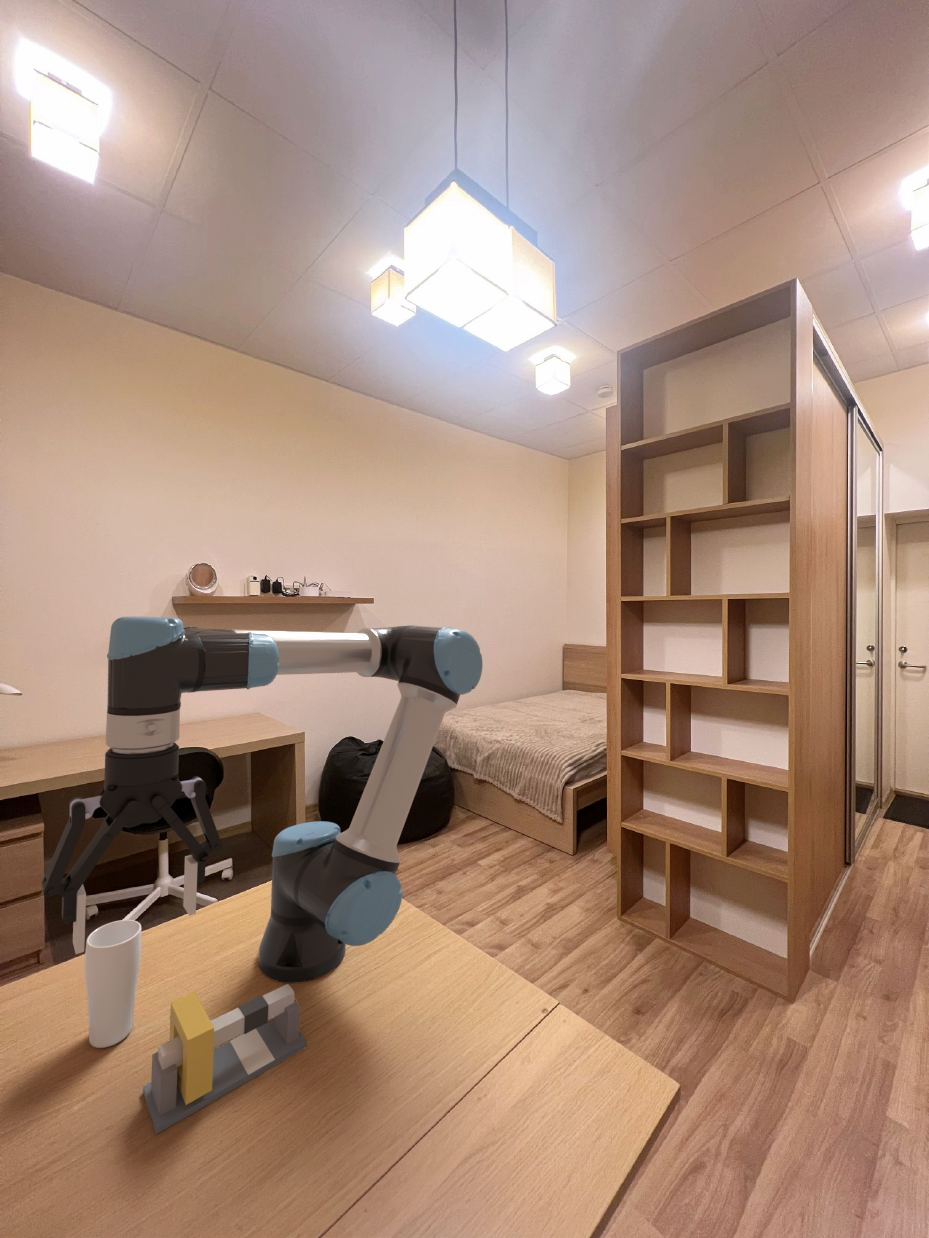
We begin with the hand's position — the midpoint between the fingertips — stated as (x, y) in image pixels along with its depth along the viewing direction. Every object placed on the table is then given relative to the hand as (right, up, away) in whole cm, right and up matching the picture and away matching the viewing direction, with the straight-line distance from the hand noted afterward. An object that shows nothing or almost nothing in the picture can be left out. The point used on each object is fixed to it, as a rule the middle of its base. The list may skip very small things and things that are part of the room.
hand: (137, 927), depth 62 cm
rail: (+7, -24, +8) cm, 27 cm away
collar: (+4, -22, +5) cm, 23 cm away
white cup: (-12, -24, +13) cm, 29 cm away
